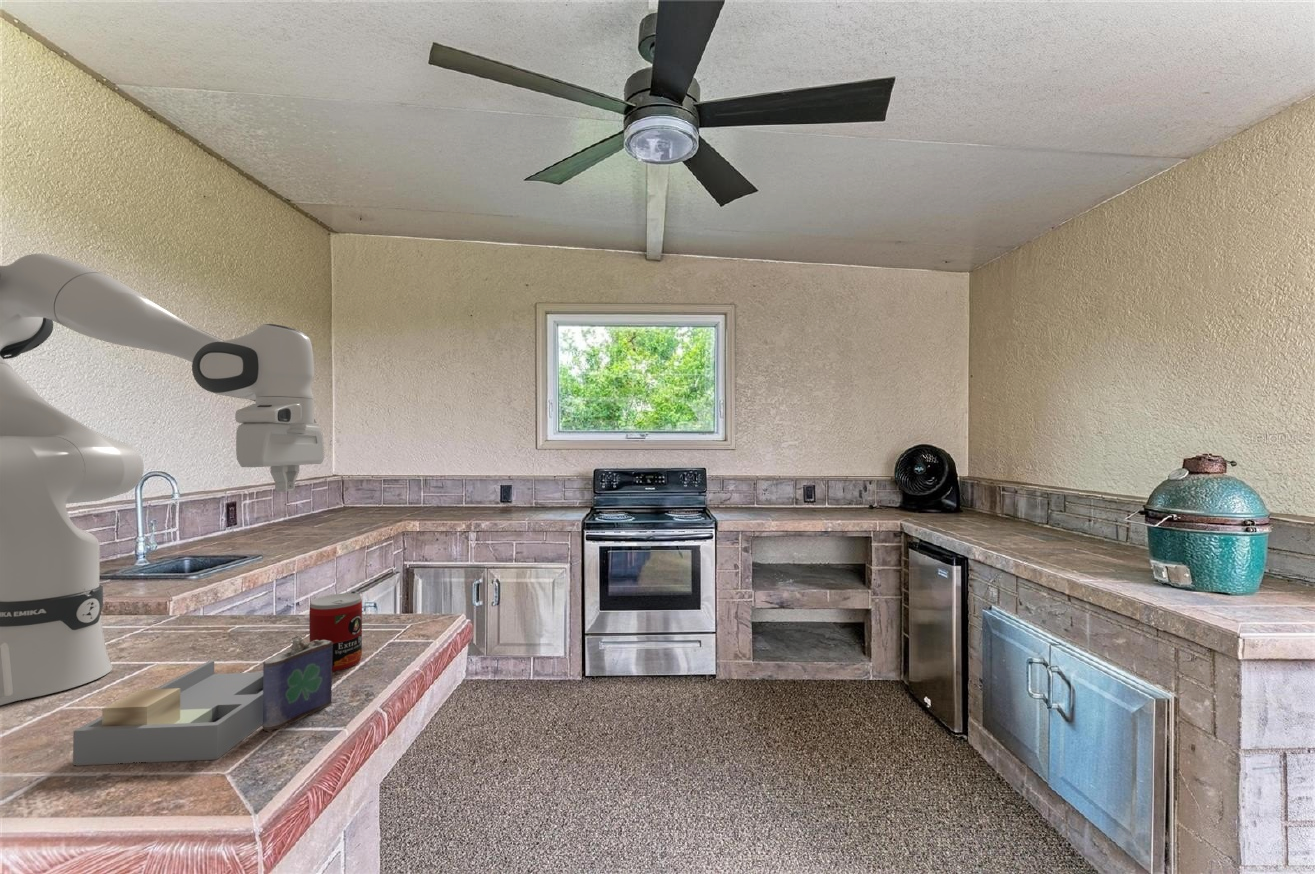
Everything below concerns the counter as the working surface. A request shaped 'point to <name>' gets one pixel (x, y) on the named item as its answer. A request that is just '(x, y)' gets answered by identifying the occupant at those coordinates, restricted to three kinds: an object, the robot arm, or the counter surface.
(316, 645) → the flask
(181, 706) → the grey compartment tray
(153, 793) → the counter surface
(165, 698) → the maple block
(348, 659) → the canned food
